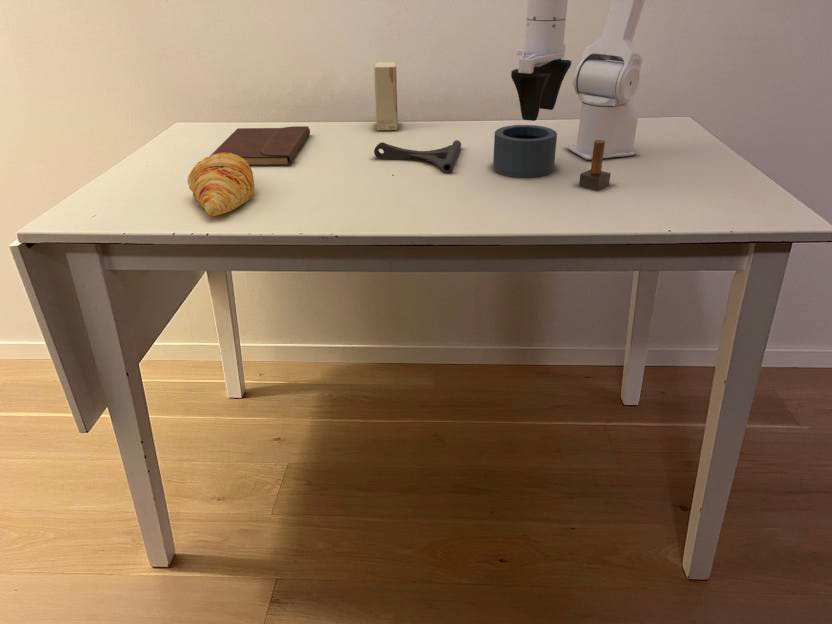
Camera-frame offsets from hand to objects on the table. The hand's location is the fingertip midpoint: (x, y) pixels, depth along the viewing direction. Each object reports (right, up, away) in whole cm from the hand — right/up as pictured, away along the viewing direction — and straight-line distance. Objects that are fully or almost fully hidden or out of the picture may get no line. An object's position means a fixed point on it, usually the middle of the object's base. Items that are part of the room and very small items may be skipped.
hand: (538, 114), depth 110 cm
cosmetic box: (-24, +10, +35) cm, 44 cm away
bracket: (-19, -3, +16) cm, 25 cm away
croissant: (-50, -13, +1) cm, 51 cm away
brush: (+9, -11, +2) cm, 14 cm away
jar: (-1, -6, +10) cm, 12 cm away
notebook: (-48, +1, +23) cm, 53 cm away
